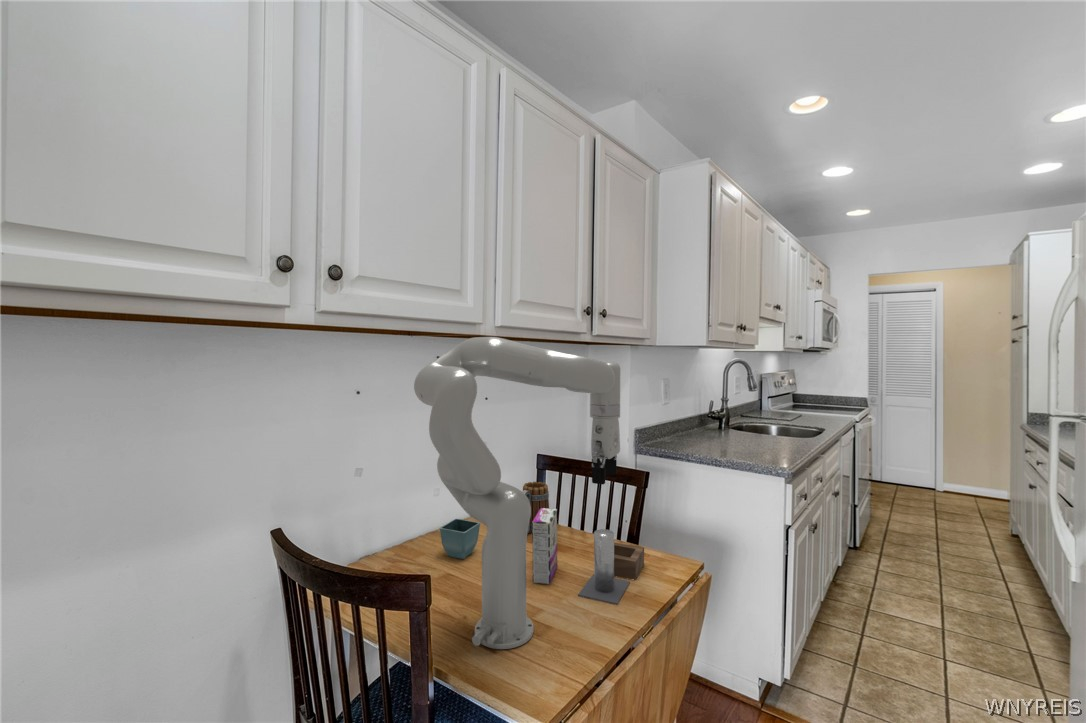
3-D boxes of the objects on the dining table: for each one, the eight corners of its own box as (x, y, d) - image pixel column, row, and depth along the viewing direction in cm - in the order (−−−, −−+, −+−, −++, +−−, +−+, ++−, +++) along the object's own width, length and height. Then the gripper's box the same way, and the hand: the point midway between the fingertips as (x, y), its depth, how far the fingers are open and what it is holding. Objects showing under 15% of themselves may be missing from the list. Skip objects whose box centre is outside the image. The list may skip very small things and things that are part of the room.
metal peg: (611, 594, 119) (610, 538, 118) (591, 590, 121) (591, 535, 121) (616, 585, 123) (616, 530, 123) (598, 581, 126) (597, 528, 125)
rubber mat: (617, 604, 115) (617, 603, 115) (577, 596, 119) (577, 594, 119) (629, 582, 126) (629, 581, 126) (593, 575, 130) (593, 573, 130)
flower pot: (464, 563, 137) (464, 532, 137) (439, 558, 140) (438, 527, 140) (480, 551, 145) (480, 522, 145) (455, 547, 149) (455, 518, 148)
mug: (528, 521, 171) (528, 479, 171) (555, 526, 167) (556, 482, 166) (506, 536, 157) (506, 490, 157) (535, 542, 153) (535, 494, 152)
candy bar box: (540, 564, 136) (540, 507, 136) (557, 566, 135) (557, 508, 135) (531, 583, 125) (531, 521, 125) (550, 585, 124) (550, 522, 124)
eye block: (635, 580, 127) (635, 561, 127) (599, 573, 131) (599, 554, 131) (644, 565, 136) (644, 547, 136) (609, 558, 140) (609, 541, 140)
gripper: (609, 416, 112) (609, 489, 112) (628, 408, 128) (628, 472, 128) (579, 414, 115) (578, 485, 115) (601, 406, 131) (600, 469, 131)
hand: (604, 478), depth 122 cm, fingers open, 9 cm apart
